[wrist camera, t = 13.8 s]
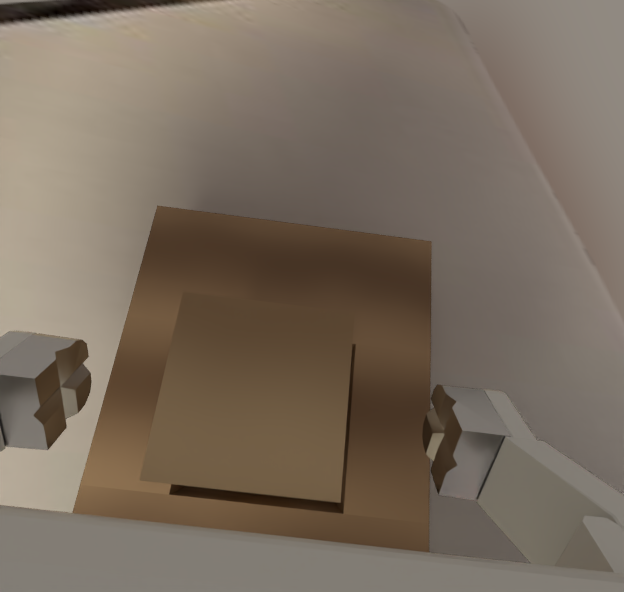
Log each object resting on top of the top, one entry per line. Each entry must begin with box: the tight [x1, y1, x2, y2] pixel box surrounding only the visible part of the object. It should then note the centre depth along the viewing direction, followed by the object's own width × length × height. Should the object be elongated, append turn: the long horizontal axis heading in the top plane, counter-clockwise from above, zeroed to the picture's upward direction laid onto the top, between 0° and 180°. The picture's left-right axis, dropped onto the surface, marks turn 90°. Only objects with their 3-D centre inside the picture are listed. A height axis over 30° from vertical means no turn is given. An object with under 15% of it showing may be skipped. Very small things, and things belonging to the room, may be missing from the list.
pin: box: [139, 291, 355, 503], centre depth 13 cm, size 4×4×10 cm
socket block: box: [73, 206, 431, 552], centre depth 17 cm, size 16×12×4 cm
